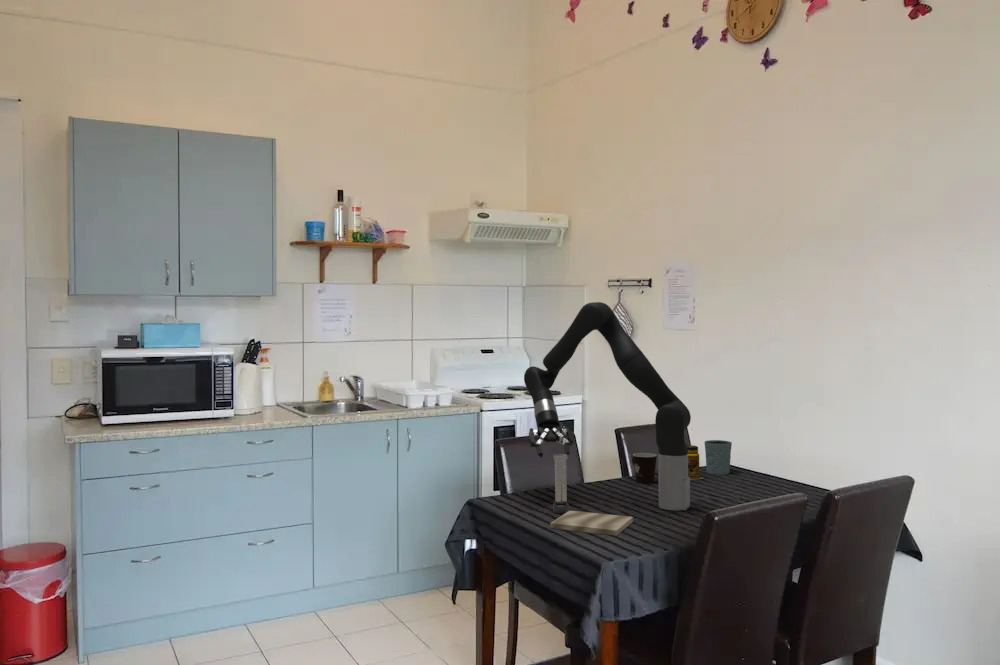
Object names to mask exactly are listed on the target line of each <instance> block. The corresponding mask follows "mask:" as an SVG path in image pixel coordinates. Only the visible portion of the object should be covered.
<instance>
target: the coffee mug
mask: <svg viewBox="0 0 1000 665" xmlns="http://www.w3.org/2000/svg"><path fill="white" fill-rule="evenodd" d="M657 457H658V455H657V454H656V453H650V452H637V453H633V454H632V457H631V458H632V459H631V462H632V465H633V467H634V468H633V469H634V476H635V483H637V482H638V483H637V484H640V483H644V484H643V485H651V484H650V483H652V484H654V483H655V476H656V466H657Z"/></svg>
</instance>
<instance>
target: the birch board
mask: <svg viewBox="0 0 1000 665" xmlns="http://www.w3.org/2000/svg"><path fill="white" fill-rule="evenodd" d="M633 523H634V517H633V516H628V515H615V514H609V513H608V514H607V513H598V512H597V513H596V512H587V511H580V510H579V511H577V510H569V511H568V512H567V513H565V514H561V516H559V517H558V518H556V519H555V520H553V521H551V522H550V523H549V524H550V525H549V527H550V528H549V529H552V530H554V529H555V530H564V531H572V532H578V533H579V532H580V533H587V534H589V533H590V534H599V535H607V536H619V535H620V534H621V533H622V532H623V531H625V529H627V527H628V526H630V525H631V524H633Z"/></svg>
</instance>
